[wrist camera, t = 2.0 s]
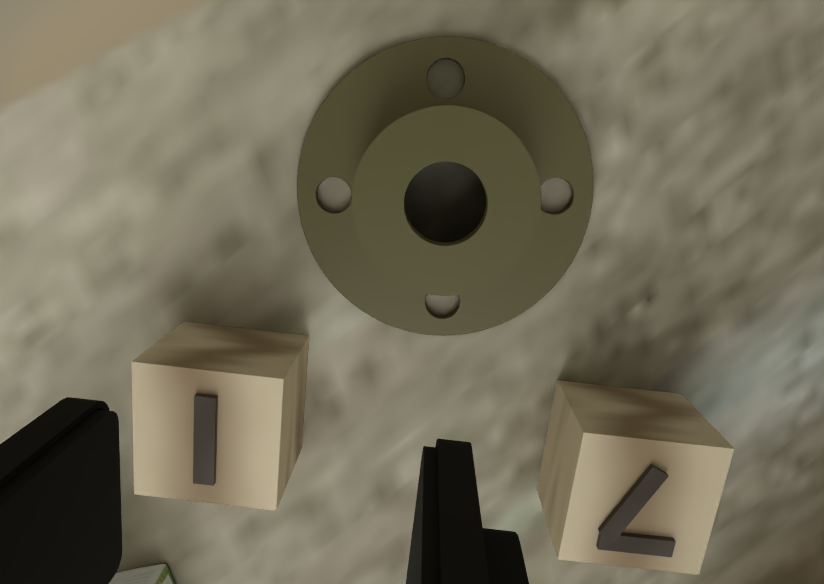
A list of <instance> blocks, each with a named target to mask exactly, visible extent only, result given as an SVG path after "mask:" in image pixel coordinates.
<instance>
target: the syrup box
mask: <svg viewBox="0 0 824 584" xmlns="http://www.w3.org/2000/svg"><path fill="white" fill-rule="evenodd" d="M109 584H175V583H174V580H173V578H172V576H171V573H170V571H169V569H168V567H167V565H166V564H159V565H153V566H147V567H141V568H136V569H132V570H127V571H122V572H117V573H116V574H115V575H114V577H113V578H112V580H111V581H110V583H109Z"/></svg>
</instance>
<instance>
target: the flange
mask: <svg viewBox="0 0 824 584" xmlns="http://www.w3.org/2000/svg"><path fill="white" fill-rule="evenodd" d="M442 59H450V60H453V61H455V62H456V63H458V64H459V65H460V66H461V68H462V70H463V72H464V78H465V80H464V85H463V88H462V90H461V91H460V92H459V94H457V95H456V96H454V97H452V98H449V99H442V98H439V97H436V96H435V95H434V94H432V93H431V91H430V90H429V88H428V86H427V81H426V77H427V73H428V70H429V68H430V67H431V66H432V65H433V64H434V63H435V62H437V61H439V60H442ZM438 162H455V163H459V164H462V165H464V166H466V167H468V168H469V169H471V170H472V171H473V172H474V173H475V174H476V175H477V176H478V178H479V179H480V181H481V182H482V185H483V187H484V190H485V195H486V207H485V212H484V215H483V217H482V220H481V221H480V223H479V225H478V226H477V227H476V228H475V230H473V231H472V232H471V233H470V234H469V235H467V236H466V237H464V238H462V239H460V240H457V241H452V242H437V241H433V240H430V239H428V238H426V237H424V236H423V235H421V234H420V233H419V232H417V231H416V229H415V228H414V227H413V226H412V224H411V223H410V221H409V219H408V217H407V214H406V210H405V194H406V190H407V187H408V185H409V183H410V181H411V180H412V178H413V177H414V176H415V175H416V174H417V173H418V172H419V171H420V170H422V169H423V168H425V167H426V166H429V165H431V164H434V163H438ZM328 177H338V178H341V179H343V180H344V181H345V182H346V183H347V184H348V185H349V187H350V189H351V192H352V200H351V203H350V205H349V207H348V208H347V209H346V210H344V211H342V212H330V211H328V210H326V209H325V208H323V207H322V205H321V204H320V202H319V200H318V196H317V191H318V187H319V185H320V184H321V182H322V181H323V180H324V179H326V178H328ZM551 178H562V179H564V180H565V181H566V182H567V183H568V184H569V185H570V187H571V191H572V197H571V201H570V203H569V205H568V206H567V207H566V208H565V209H564V210H563V211H561V212H559V213H553V214H551V213H546V212H544V211H543V210H542V209H541V190H540V186H541V185H542V184H543V183H544V182H545V181H546V180H548V179H551ZM297 198H298V208H299V214H300V219H301V224H302V228H303V231H304V234H305V237H306V240H307V243H308V245H309V247H310V250H311V252H312V254H313V256H314V258H315V260H316V261H317V263H318V265H319V266H320V268H321V270H322V271H323V273H324V274H325V275H326V277H327V278H328V279H329V281H330V282H331V283H332V284H333V285H334V287H335V288H336V289H337V290H338V291H339V292H340V293H341V294H342V295H343V296H344V297H345V298H346V299H348V300H349V301H350V302H351V303H352V304H354V305H355V306H356V307H358V308H359V309H360V310H362V311H363V312H365V313H366V314H368V315H370V316H372V317H373V318H375V319H377V320H379V321H381V322H383V323H385V324H388V325H390V326H393V327H396V328H399V329H402V330H406V331H410V332H414V333H420V334H427V335H442V336H443V335H460V334H468V333H473V332H477V331H481V330H485V329H488V328H491V327H494V326H497V325H499V324H502V323H504V322H506V321H508V320H510V319H512V318H514V317H516V316H518V315H519V314H521V313H523V312H524V311H526V310H527V309H529V308H530V307H531V306H533V305H534V304H535V303H537V302H538V301H539V300H540V299H541V298H543V297H544V296H545V295H546V294H547V293H548V292H549V291H550V290H551V289H552V288H553V287H554V286H555V285H556V283H557V282H558V281H559V280H560V279H561V277H562V276H563V275H564V273H565V272H566V270H567V269H568V267H569V266H570V264H571V263H572V261H573V259H574V257H575V256H576V254H577V252H578V250H579V248H580V245H581V243H582V241H583V238H584V235H585V232H586V229H587V226H588V222H589V218H590V214H591V208H592V200H593V168H592V161H591V155H590V150H589V147H588V143H587V139H586V136H585V133H584V131H583V128H582V126H581V124H580V121H579V119H578V117H577V115H576V113H575V112H574V110H573V108H572V106H571V105H570V103H569V102H568V100H567V99H566V97H565V96H564V95H563V93H562V92H561V91H560V90H559V88H558V87H557V86H556V85H555V84H554V83H553V82H552V81H551V80H550V79H549V78H548V77H547V76H546V75H545V74H544V73H543V72H542V71H541V70H539V69H538V68H537V67H536V66H534V65H533V64H531V63H530V62H529V61H527V60H526V59H524V58H522V57H521V56H519V55H517V54H515V53H513V52H511V51H509V50H507V49H505V48H503V47H500V46H497V45H495V44H491V43H488V42H485V41H481V40H476V39H471V38H463V37H431V38H423V39H418V40H413V41H409V42H406V43H402V44H399V45H396V46H394V47H391V48H389V49H387V50H384V51H382V52H380V53H378V54H376V55H375V56H373V57H371V58H370V59H368V60H366V61H365V62H363V63H362V64H360V65H359V66H358V67H356V68H355V69H354V70H353V71H351V72H350V73H349V74H348V75H347V76H346V77H345V78H344V79H343V80H342V81H341V82H340V83H339V84H338V85H337V86H336V87H335V88H334V89H333V90H332V92H331V93H330V94H329V95H328V97H327V98H326V99H325V101H324V102H323V104H322V105H321V107H320V108H319V110H318V112H317V114H316V115H315V117H314V119H313V121H312V123H311V125H310V128H309V130H308V133H307V135H306V138H305V141H304V144H303V148H302V152H301V156H300V161H299V167H298V177H297ZM427 294H431V295H440V296H450V295H459V305H458V307H457V309H456V310H455V311H454V312H453V313H451V314H450V315H447V316H437V315H435V314H433V313H431V312H430V311H429V310H428V308H427V307H426V304H425V298H426V295H427Z"/></svg>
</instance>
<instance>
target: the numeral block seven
mask: <svg viewBox="0 0 824 584" xmlns="http://www.w3.org/2000/svg"><path fill="white" fill-rule="evenodd" d="M733 452H734V448H733V447H732V446H731V445H730V444H729V443H728V442H727V441H726V440H725V439H724V438H723V437H722V436H721V434H720V433H719V432H718V431H717V430H716V429H715V428H714V427H713V426H712V425H711V424H710V423H709V422H708V421H707V420H706V419H705V418H704V417H703V416H702V415H701V414H700V413H699V412H698V411H697V409H696V408H695V407H694V406H693V405H692V404H691V403H690V402H689V401H688V400H687V399H686V398H685V397H684V396H683V395H682V394H679V393H669V392H660V391H651V390H642V389H633V388H623V387H614V386H605V385H596V384H587V383H577V382H568V381H559V380H557V382H556V388H555V393H554V398H553V404H552V409H551V415H550V420H549V426H548V431H547V437H546V442H545V447H544V453H543V458H542V464H541V469H540V475H539V480H538V486H537V491H538V495H539V498H540V501H541V505H542V508H543V512H544V515H545V518H546V522H547V525H548V528H549V532H550V535H551V538H552V542H553V545H554V548H555V552H556V555H557V558H558V560H567V561H576V562H586V563H595V564H604V565H613V566H622V567H632V568H641V569H650V570H659V571H668V572H678V573H687V574H696V575H699V573H700V569H701V566H702V562H703V559H704V555H705V552H706V548H707V544H708V541H709V537H710V534H711V530H712V527H713V523H714V520H715V516H716V512H717V509H718V505H719V502H720V498H721V495H722V491H723V488H724V484H725V481H726V477H727V473H728V470H729V466H730V463H731V459H732V456H733Z"/></svg>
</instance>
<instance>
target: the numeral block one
mask: <svg viewBox="0 0 824 584" xmlns="http://www.w3.org/2000/svg"><path fill="white" fill-rule="evenodd" d="M308 347H309V336H305V335H296V334H287V333H279V332H270V331H261V330H252V329H244V328H235V327H226V326H217V325H209V324H200V323H191V322H183V323H182V324H180V325H179V326H178V327H176V328H175V329H174V330H172V331H171V332H170V333H169V334H167V335H166V336H165V337H163V338H162V339H161V340H159V341H158V342H157V343H155V344H154V345H153V346H152V347H150V348H149V349H148V350H146V351H145V352H144V353H142V354H141V355H140V356H139V357H137V358H136V359H135V360H133V361H132V406H133V460H134V494H136V495H145V496H154V497H162V498H171V499H180V500H189V501H197V502H206V503H215V504H224V505H232V506H241V507H250V508H258V509H267V510H277V507H278V505H279V502H280V500H281V498H282V495H283V493H284V490H285V488H286V485H287V483H288V480H289V478H290V476H291V473H292V471H293V468H294V466H295V463H296V461H297V458H298V456H299V453H300V451H301V449H302V436H303V422H304V407H305V392H306V377H307V362H308Z"/></svg>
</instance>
